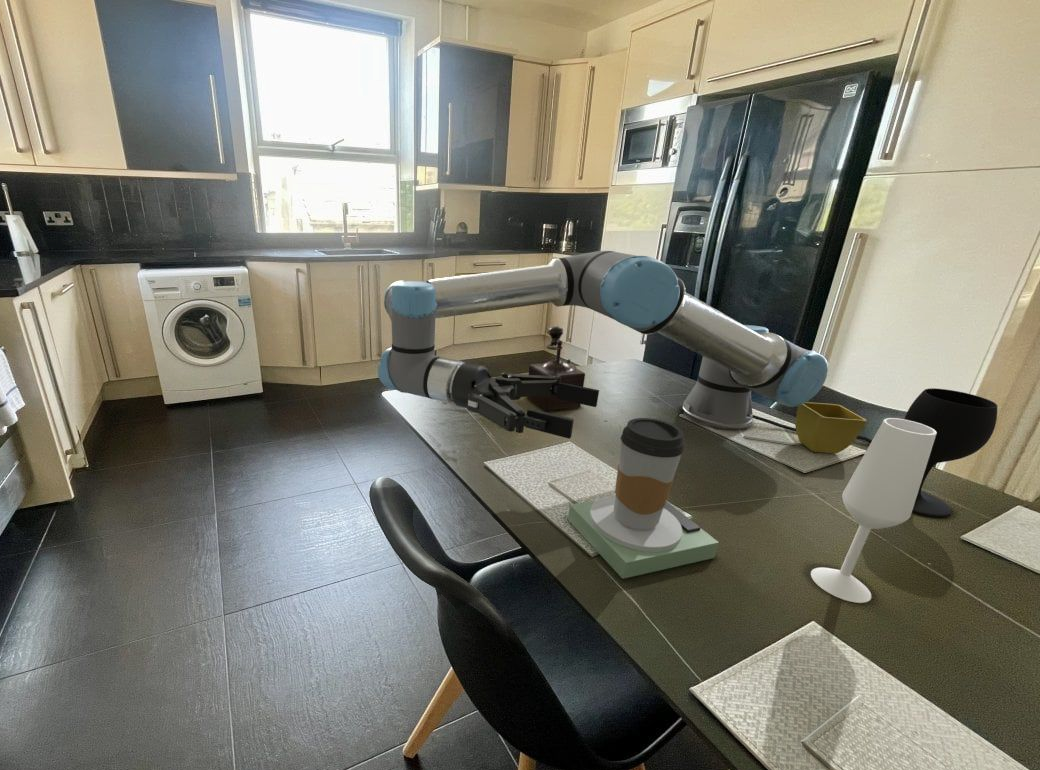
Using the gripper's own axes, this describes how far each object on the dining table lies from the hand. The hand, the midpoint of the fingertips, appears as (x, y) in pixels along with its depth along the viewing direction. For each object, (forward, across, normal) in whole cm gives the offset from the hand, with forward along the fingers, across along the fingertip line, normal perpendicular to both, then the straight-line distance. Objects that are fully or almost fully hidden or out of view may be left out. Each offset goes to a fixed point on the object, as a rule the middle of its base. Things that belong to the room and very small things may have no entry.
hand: (585, 412), depth 72 cm
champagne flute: (+36, -6, -19) cm, 41 cm away
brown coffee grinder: (-21, -49, -19) cm, 56 cm away
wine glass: (+50, -40, -19) cm, 67 cm away
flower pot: (+38, -56, -19) cm, 70 cm away
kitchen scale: (+10, -1, -19) cm, 21 cm away
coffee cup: (+10, 0, -15) cm, 18 cm away
